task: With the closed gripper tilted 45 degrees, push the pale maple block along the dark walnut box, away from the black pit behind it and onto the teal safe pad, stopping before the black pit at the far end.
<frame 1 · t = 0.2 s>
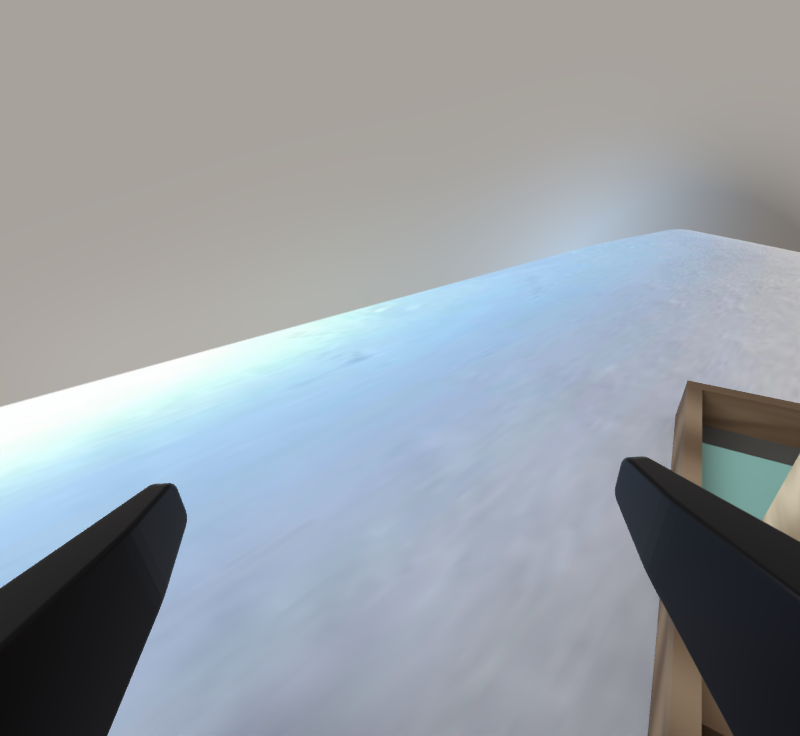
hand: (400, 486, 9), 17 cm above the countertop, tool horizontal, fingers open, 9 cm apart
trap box: (798, 605, 22), on the countertop
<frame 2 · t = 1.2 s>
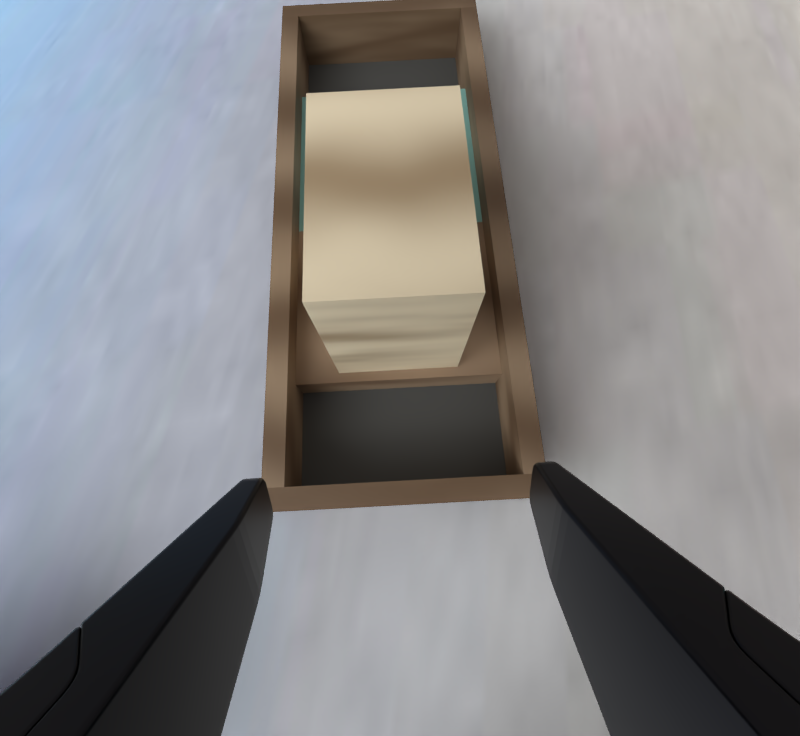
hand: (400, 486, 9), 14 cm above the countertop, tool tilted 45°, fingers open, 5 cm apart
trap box: (391, 239, 26), on the countertop
maple block: (394, 290, 23), point 2 cm above the countertop, touching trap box
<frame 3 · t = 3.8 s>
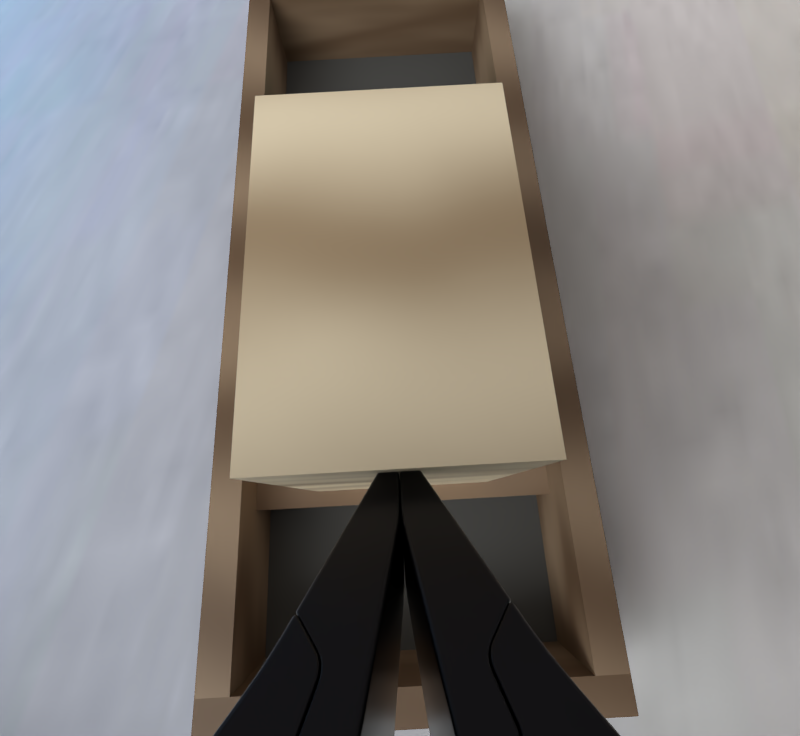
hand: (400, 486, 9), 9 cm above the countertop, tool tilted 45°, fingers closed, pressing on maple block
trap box: (392, 289, 20), on the countertop
maple block: (396, 366, 17), point 2 cm above the countertop, touching gripper
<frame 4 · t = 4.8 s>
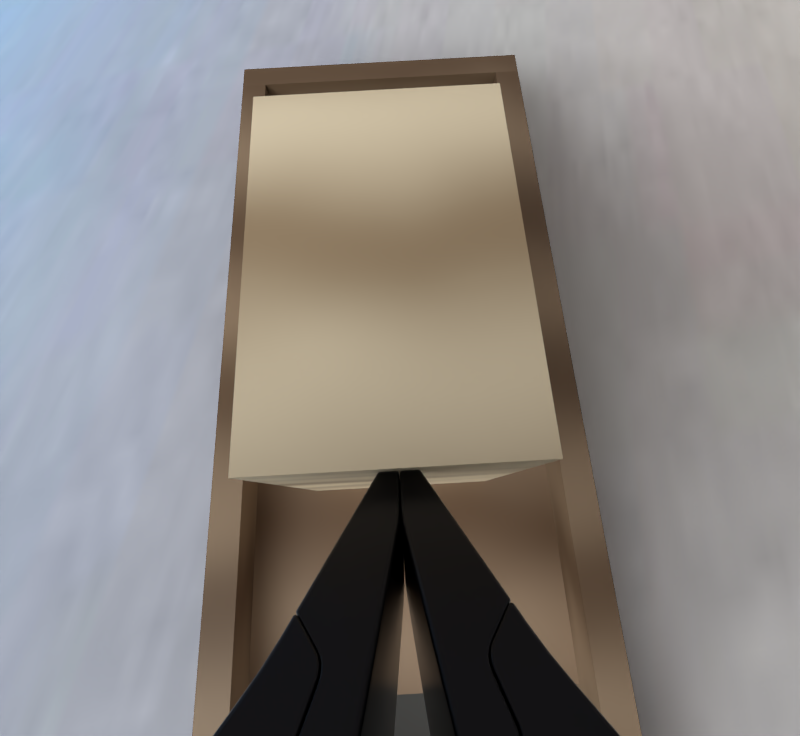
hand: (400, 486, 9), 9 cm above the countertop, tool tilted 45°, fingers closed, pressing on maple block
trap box: (398, 409, 18), on the countertop
maple block: (394, 366, 17), point 2 cm above the countertop, touching gripper, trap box
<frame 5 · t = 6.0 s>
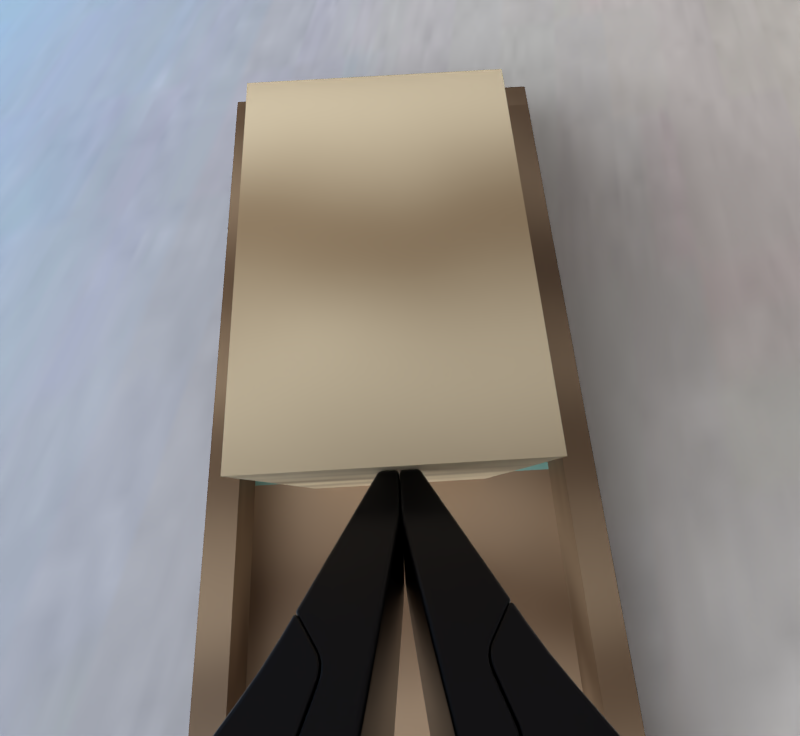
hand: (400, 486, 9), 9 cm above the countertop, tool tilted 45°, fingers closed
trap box: (401, 467, 17), on the countertop
maple block: (393, 362, 16), point 2 cm above the countertop, touching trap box
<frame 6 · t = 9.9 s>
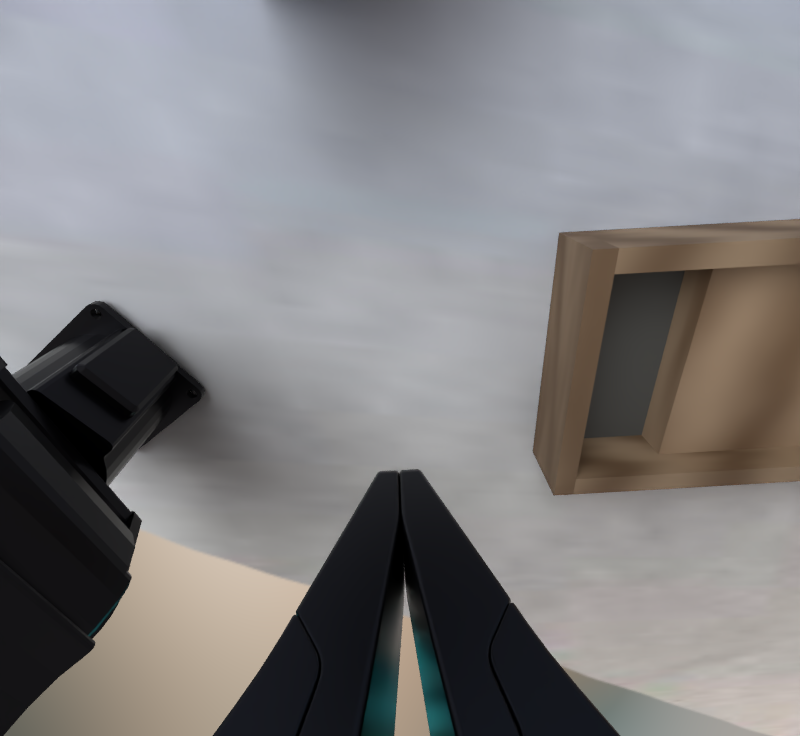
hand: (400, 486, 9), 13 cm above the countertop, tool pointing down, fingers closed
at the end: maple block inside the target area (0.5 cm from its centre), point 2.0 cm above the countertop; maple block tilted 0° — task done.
